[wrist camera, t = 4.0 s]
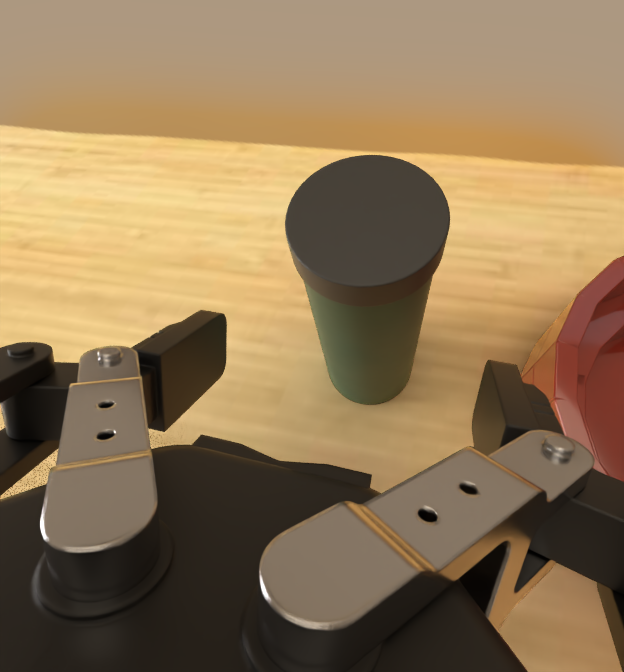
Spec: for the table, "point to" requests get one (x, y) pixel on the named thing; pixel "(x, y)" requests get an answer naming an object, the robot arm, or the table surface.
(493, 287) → the table surface
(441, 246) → the tube
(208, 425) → the table surface
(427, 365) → the table surface
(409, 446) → the table surface
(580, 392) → the bowl
